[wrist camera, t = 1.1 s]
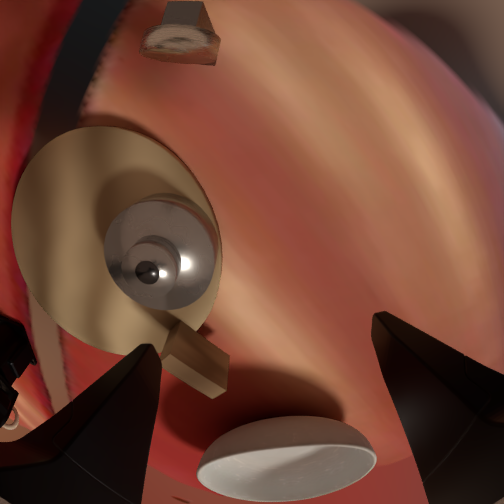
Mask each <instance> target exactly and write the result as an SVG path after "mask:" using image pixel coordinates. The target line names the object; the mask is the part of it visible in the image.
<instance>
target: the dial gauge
mask: <svg viewBox="0 0 504 504" xmlns="http://www.w3.org/2000/svg"><path fill="white" fill-rule="evenodd" d="M220 42H221V39H220V37H219V36H218V35H217V34H215V31H214V29H213V26H212V23H211V21H210V18H209V16H208V13H207V11H206V8H205V6H204V3H203V2H201V1H172V2H168V3H167V6H166V9H165V12H164V16H163V19H162V23H161V25H157V26H153V27H150V28H148V29H146V30H145V31H144V34H143V38H142V42H141V46H140V50H139V53H140V54H141V55H142V56H144V57H147V58H150V59H154V60H158V61H164V62H171V63H181V64H201V65H213V66H215V64H216V60H217V56H218V51H219V47H220Z"/></svg>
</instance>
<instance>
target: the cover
mask: <svg viewBox="0 0 504 504" xmlns="http://www.w3.org/2000/svg"><path fill="white" fill-rule="evenodd" d="M218 250H219V244H218V236H217V232H216V230H215V227H214V225H213V223H212V221H211V219H210V218H209V216H208V215H207V214H206V213H205V211H204V210H203V209H202V208H201V207H199V206H198V205H197V204H196V203H194V202H193V201H191V200H189V199H187V198H185V197H183V196H180V195H177V194H172V193H157V194H152V195H149V196H146V197H144V198H142V199H140V200H139V201H137V202H135V203H134V204H132V205H131V206H129V207H128V208H126V209H125V210H124V211H122V212H121V213H120V214H119V215H118V216H117V217H116V218H115V219H114V220H113V221H112V223H111V224H110V226H109V228H108V230H107V233H106V237H105V242H104V257H105V262H106V265H107V268H108V271H109V273H110V275H111V277H112V279H113V280H114V282H115V283H116V285H117V286H118V287H119V288H120V289H121V290H122V291H123V292H124V293H125V294H126V295H127V296H128V297H129V298H131V299H132V300H134V301H135V302H137V303H139V304H141V305H144V306H146V307H149V308H153V309H158V310H175V309H180V308H183V307H186V306H188V305H190V304H192V303H194V302H195V301H197V300H198V299H199V298H200V297H201V296H202V295H203V294H204V293H205V291H206V290H207V288H208V286H209V285H210V282H211V280H212V277H213V273H214V269H215V265H216V261H217V257H218Z"/></svg>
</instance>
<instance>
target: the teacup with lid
mask: <svg viewBox="0 0 504 504" xmlns="http://www.w3.org/2000/svg"><path fill="white" fill-rule="evenodd" d="M12 410H13V411H14V413H15V420H14V422H13V423H12V424H10V425H8V424H4V425H3V427H4V428H6V429H9V430H12V429H15V428H16V427H17V425H18V423H19V415H18V412H17V410H16V408H15V407H14V406H13V408H12Z"/></svg>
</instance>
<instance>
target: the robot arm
mask: <svg viewBox="0 0 504 504" xmlns="http://www.w3.org/2000/svg"><path fill="white" fill-rule="evenodd" d="M371 338H372V342H373V345H374V348H375V352H376V355H377V358H378V362H379V365H380V368H381V372H382V375H383V378H384V381H385V383H386V386H387V388H388V391H389V393H390V395H391V398H392V400H393V403H394V405H395V408H396V410H397V413H398V415H399V418H400V420H401V423H402V426H403V428H404V431H405V434H406V436H407V439H408V442H409V444H410V447H411V450H412V453H413V456H414V458H415V461H416V464H417V467H418V470H419V473H420V476H421V479H422V482H423V486H424V489H425V492H426V496H427V499H428V502H429V504H504V375H503V374H501V373H499V372H497V371H495V370H493V369H490V368H488V367H486V366H484V365H482V364H481V363H479V362H477V361H475V360H473V359H471V358H470V357H468V356H464V354H462V353H461V352H459V351H457V350H455V349H453V348H452V347H450V346H448V345H446V344H444V343H443V342H441V341H439V340H437V339H436V338H434V337H432V336H430V335H428V334H427V333H425V332H423V331H421V330H419V329H418V328H416V327H414V326H412V325H410V324H408V323H407V322H405V321H403V320H401V319H399V318H398V317H396V316H394V315H392V314H390V313H388V312H386V311H382V312H377V313H375V314H374V315H373V318H372V329H371ZM29 364H32V365H36V364H37V361H36V359H35V356H34V353H33V351H32V348H31V345H30V343H29V340H28V337H27V334H26V331H25V329H24V327H23V326H22V325H21V324H18V323H16V322H14V321H11V320H9V319H7V318H5V317H3V316H1V315H0V428H1V427H2V426H3V425H4V424H5V423H6V421H7V419H8V418H9V416H10V413H11V411H12V408H13V406H14V404H15V401H16V399H17V397H18V394H19V393H18V392H17V391H16V390H14V388H13V387H12V384H13V383H14V381H15V380H16V378H19V377H20V376H21V375H22V373H23V372H24V371H25V369H26V368H27V366H28V365H29ZM161 372H162V362H161V359H160V357H159V355H158V353H157V351H156V349H155V347H154V345H153V344H151V343H143V344H140V345H139V346H137V347H136V348H135V349H134V350H133V351H131V352H130V353H129V354H128V355H127V356H125V357H124V358H123V359H122V360H121V361H119V362H118V363H117V364H116V365H115V366H113V367H112V368H111V369H110V370H109V371H107V372H106V373H105V374H104V375H102V376H101V377H100V378H99V379H98V380H96V381H95V382H94V383H93V384H92V385H90V386H89V387H88V388H87V389H86V390H84V391H83V392H82V393H81V394H80V395H78V396H77V397H76V398H75V399H74V400H73V402H72V401H71V402H70V403H69V404H68V405H66V406H65V407H64V408H63V409H62V410H60V411H59V412H58V413H56V414H55V415H54V416H52V417H51V418H50V419H48V420H47V421H45V422H44V423H43V424H41V425H40V426H38V427H37V428H35V429H34V430H32V431H31V432H30V433H28V434H26V435H25V436H24V437H22V438H20V439H18V440H16V441H12V442H0V504H141V501H142V493H143V487H144V480H145V474H146V468H147V462H148V456H149V451H150V445H151V440H152V434H153V429H154V424H155V419H156V414H157V409H158V403H159V393H160V382H161Z"/></svg>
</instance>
